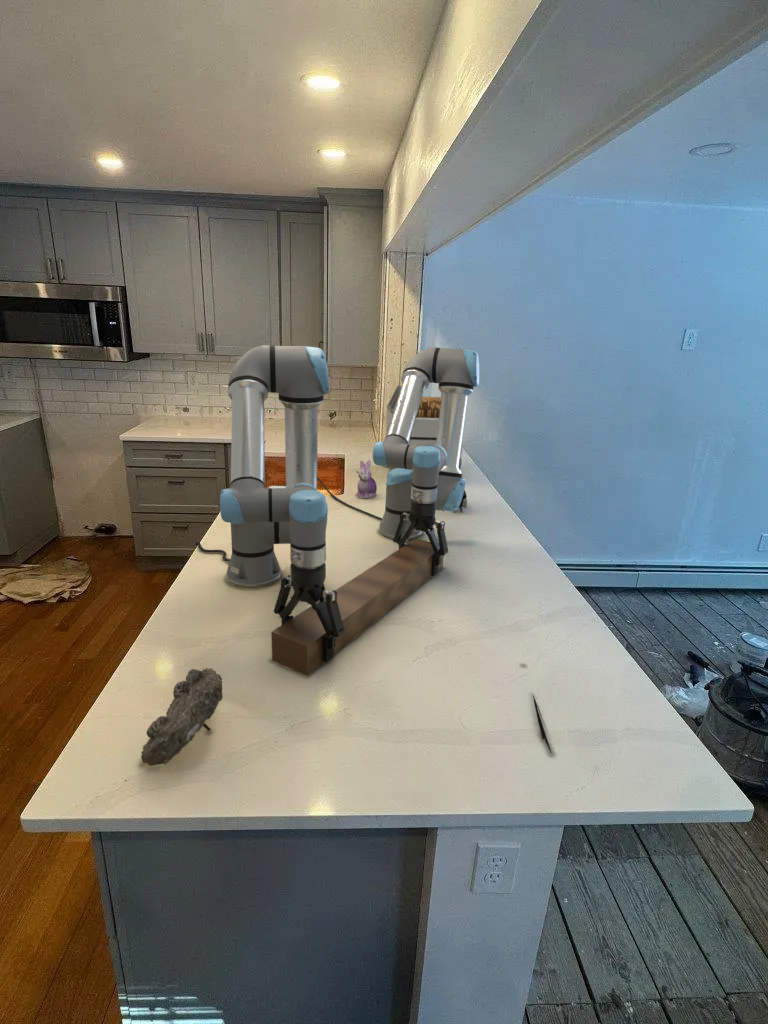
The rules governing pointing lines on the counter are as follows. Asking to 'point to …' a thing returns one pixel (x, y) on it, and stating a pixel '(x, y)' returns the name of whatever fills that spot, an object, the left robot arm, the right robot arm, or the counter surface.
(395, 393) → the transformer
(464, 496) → the figurine character
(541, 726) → the feather
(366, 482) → the figurine
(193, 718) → the fossil
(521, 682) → the counter surface
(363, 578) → the thick board
